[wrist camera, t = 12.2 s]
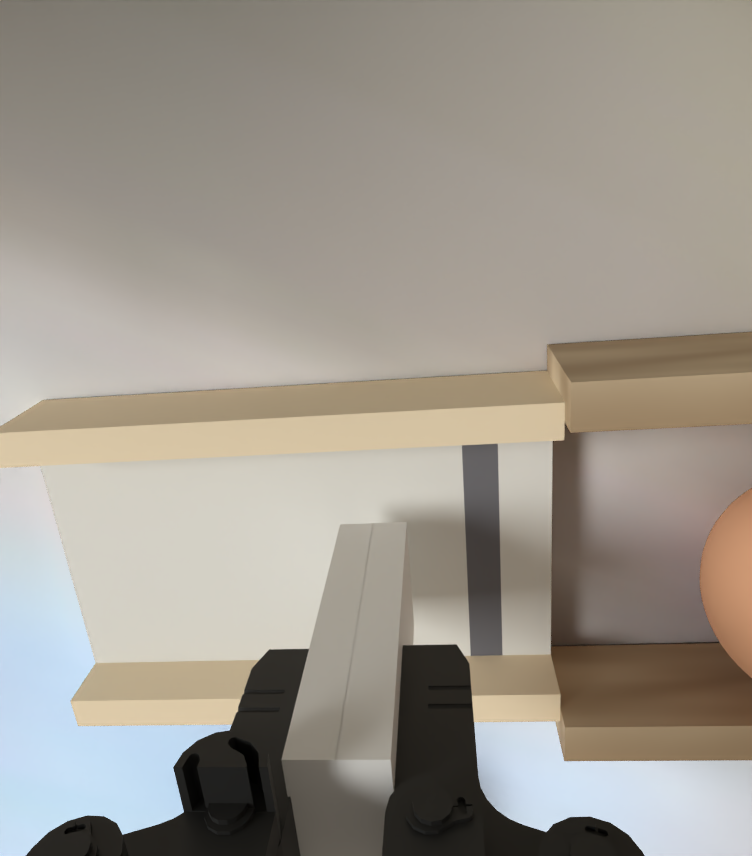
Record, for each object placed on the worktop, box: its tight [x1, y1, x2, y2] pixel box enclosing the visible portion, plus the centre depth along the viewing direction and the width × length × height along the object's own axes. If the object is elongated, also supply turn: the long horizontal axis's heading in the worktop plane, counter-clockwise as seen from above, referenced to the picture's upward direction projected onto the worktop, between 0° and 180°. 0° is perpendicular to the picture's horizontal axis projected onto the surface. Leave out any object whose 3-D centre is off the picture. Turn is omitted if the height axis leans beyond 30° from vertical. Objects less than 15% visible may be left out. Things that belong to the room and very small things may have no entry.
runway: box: [0, 371, 565, 726], centre depth 17 cm, size 8×12×2 cm, turn 95°
